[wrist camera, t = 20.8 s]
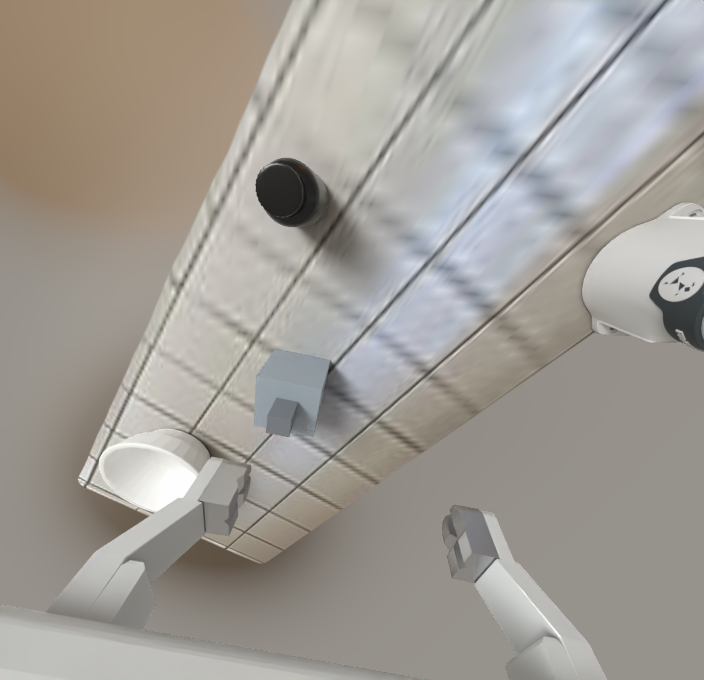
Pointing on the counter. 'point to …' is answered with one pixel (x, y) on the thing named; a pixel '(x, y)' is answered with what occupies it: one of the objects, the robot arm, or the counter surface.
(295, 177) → the supplement bottle
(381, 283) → the counter surface
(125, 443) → the bowl
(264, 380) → the grey block with knob
